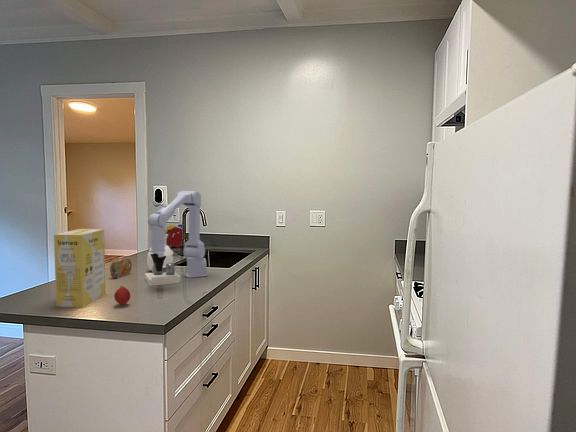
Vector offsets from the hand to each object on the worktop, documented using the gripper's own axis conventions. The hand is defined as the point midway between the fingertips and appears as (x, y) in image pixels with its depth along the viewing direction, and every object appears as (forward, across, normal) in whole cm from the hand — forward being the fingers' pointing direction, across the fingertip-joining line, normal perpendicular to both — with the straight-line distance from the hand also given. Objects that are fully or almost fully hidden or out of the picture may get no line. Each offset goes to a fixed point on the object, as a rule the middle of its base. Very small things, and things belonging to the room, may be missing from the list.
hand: (158, 270), depth 187 cm
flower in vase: (+9, -78, +17) cm, 80 cm away
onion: (+9, +20, -17) cm, 28 cm away
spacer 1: (+2, 0, 0) cm, 2 cm away
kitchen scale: (+8, -13, +4) cm, 16 cm away
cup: (+9, -36, +7) cm, 38 cm away
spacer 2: (+5, -11, +8) cm, 14 cm away
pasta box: (+9, +6, -31) cm, 33 cm away
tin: (+9, -32, -13) cm, 36 cm away
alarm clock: (+9, -108, +31) cm, 113 cm away
